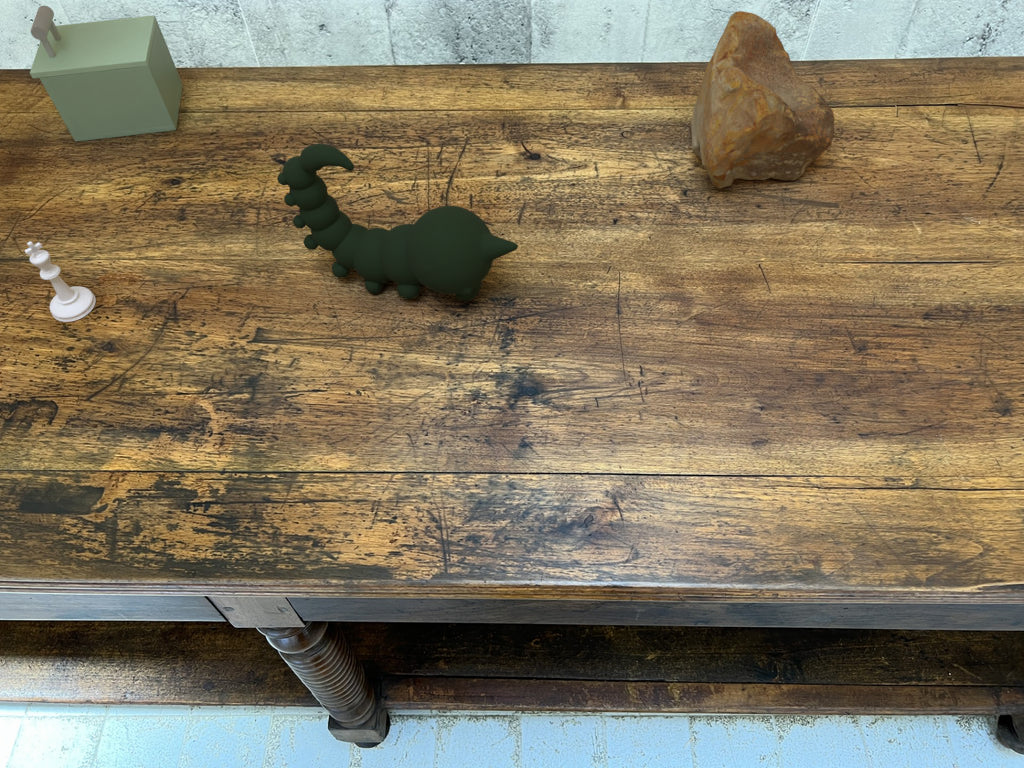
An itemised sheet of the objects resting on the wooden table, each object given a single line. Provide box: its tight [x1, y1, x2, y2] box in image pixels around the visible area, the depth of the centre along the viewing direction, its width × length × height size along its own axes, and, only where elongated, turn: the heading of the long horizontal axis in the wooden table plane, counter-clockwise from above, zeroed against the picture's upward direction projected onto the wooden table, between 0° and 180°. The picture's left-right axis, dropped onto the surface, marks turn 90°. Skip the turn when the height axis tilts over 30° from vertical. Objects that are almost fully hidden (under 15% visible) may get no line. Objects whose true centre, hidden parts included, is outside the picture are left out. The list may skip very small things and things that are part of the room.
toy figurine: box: [276, 143, 519, 302], centre depth 87 cm, size 9×19×25 cm
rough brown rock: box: [690, 10, 835, 189], centre depth 100 cm, size 23×17×15 cm
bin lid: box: [29, 5, 158, 79], centre depth 105 cm, size 14×11×5 cm
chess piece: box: [24, 240, 97, 323], centre depth 90 cm, size 5×5×10 cm
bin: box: [39, 21, 184, 143], centre depth 111 cm, size 14×11×10 cm
